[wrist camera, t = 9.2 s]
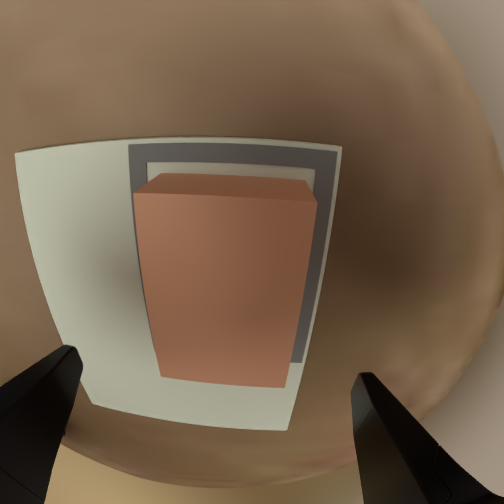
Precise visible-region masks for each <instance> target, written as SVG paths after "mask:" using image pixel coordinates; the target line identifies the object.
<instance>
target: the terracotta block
mask: <svg viewBox="0 0 504 504" xmlns="http://www.w3.org/2000/svg"><path fill="white" fill-rule="evenodd" d="M133 196H134V209H135V220H136V231H137V240H138V249H139V257H140V265H141V273H142V280H143V286H144V293H145V299H146V305H147V311H148V317H149V323H150V328H151V333H152V338H153V343H154V348H155V353H156V358H157V362H158V367H159V371H160V375H161V377H165V378H172V379H179V380H187V381H195V382H204V383H213V384H224V385H235V386H250V387H268V388H285V385H286V380H287V376H288V371H289V366H290V362H291V357H292V352H293V347H294V342H295V337H296V332H297V326H298V321H299V316H300V310H301V305H302V299H303V294H304V288H305V282H306V276H307V270H308V264H309V258H310V251H311V245H312V238H313V231H314V224H315V217H316V210H317V201H316V199H315V197H314V195H313V193H312V191H311V190H310V188H309V186H308V184H307V182H306V180H295V179H283V178H270V177H256V176H239V175H218V174H187V173H160V174H159V175H157V176H156V177H155V178H153V179H152V180H150V181H149V182H148V183H146V184H145V185H144V186H142V187H141V188H140V189H138V190H137V191H135V192H134V193H133Z"/></svg>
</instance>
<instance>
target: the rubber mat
mask: <svg viewBox="0 0 504 504" xmlns="http://www.w3.org/2000/svg"><path fill="white" fill-rule="evenodd" d="M341 155H342V147H341V146H338V145H329V144H321V143H311V142H301V141H289V140H276V139H260V138H239V137H152V138H132V139H117V140H104V141H93V142H83V143H74V144H66V145H58V146H51V147H44V148H38V149H32V150H26V151H20V152H17V153H15V161H16V170H17V178H18V185H19V191H20V197H21V203H22V209H23V214H24V219H25V224H26V228H27V233H28V237H29V241H30V246H31V249H32V253H33V257H34V261H35V264H36V268H37V271H38V275H39V278H40V281H41V285H42V288H43V291H44V294H45V297H46V300H47V303H48V305H49V308H50V311H51V314H52V316H53V319H54V322H55V324H56V327H57V329H58V332H59V334H60V337H61V339H62V342H63V344H64V345H65V344H67V345H71V346H75V347H76V348H77V350H78V353H79V355H80V357H81V360H82V362H83V372H82V375H81V379H80V381H81V383H82V385H83V387H84V389H85V391H86V393H87V394H88V396H89V398H90V400H91V402H92V404H95V405H99V406H102V407H106V408H110V409H114V410H119V411H123V412H127V413H132V414H137V415H142V416H147V417H152V418H157V419H163V420H169V421H175V422H182V423H189V424H197V425H205V426H215V427H225V428H238V429H256V430H287V428H288V425H289V421H290V418H291V414H292V410H293V407H294V403H295V399H296V396H297V392H298V388H299V384H300V380H301V376H302V372H303V368H304V364H305V360H306V356H307V351H308V347H309V343H310V338H311V334H312V329H313V325H314V320H315V315H316V311H317V306H318V301H319V296H320V291H321V286H322V280H323V275H324V270H325V264H326V259H327V253H328V247H329V241H330V235H331V229H332V222H333V216H334V209H335V202H336V195H337V188H338V180H339V172H340V164H341ZM160 173H187V174H218V175H239V176H256V177H270V178H283V179H295V180H306V182H307V184H308V186H309V188H310V190H311V191H312V193H313V195H314V197H315V199H316V201H317V210H316V217H315V224H314V231H313V238H312V245H311V251H310V258H309V264H308V270H307V276H306V282H305V288H304V294H303V299H302V305H301V310H300V316H299V321H298V326H297V332H296V337H295V342H294V347H293V352H292V357H291V362H290V366H289V371H288V376H287V380H286V385H285V388H268V387H250V386H235V385H224V384H213V383H204V382H195V381H187V380H179V379H172V378H165V377H161V375H160V371H159V367H158V362H157V358H156V353H155V348H154V343H153V338H152V333H151V328H150V323H149V317H148V311H147V305H146V299H145V293H144V286H143V280H142V273H141V265H140V257H139V249H138V240H137V231H136V220H135V209H134V196H133V193H134V192H135V191H137V190H138V189H140V188H141V187H142V186H144V185H145V184H146V183H148V182H149V181H150V180H152V179H153V178H155V177H156V176H157V175H159V174H160Z"/></svg>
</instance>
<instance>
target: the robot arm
mask: <svg viewBox="0 0 504 504" xmlns="http://www.w3.org/2000/svg"><path fill="white" fill-rule="evenodd" d="M82 372H83V362H82V360H81V357H80V355H79V353H78V350H77V348H76V347H75V346H71V345H67V344H65V345H63V346H61V347H60V348H58V349H57V350H55V351H53V352H52V353H50V354H49V355H47V356H46V357H44V358H43V359H41V360H40V361H38V362H37V363H35V364H34V365H32V366H31V367H29V368H28V369H26V370H25V371H23V372H22V373H20V374H19V375H17V376H16V377H14V378H13V379H11V380H10V381H8V382H7V383H5V384H4V385H2V386H1V387H0V504H44V501H45V498H46V493H47V489H48V485H49V481H50V476H51V473H52V468H53V465H54V462H55V458H56V455H57V452H58V449H59V446H60V443H61V440H62V437H63V436H64V435H65V432H64V431H65V428H66V425H67V422H68V419H69V416H70V414H71V411H72V408H73V405H74V401H75V397H76V394H77V390H78V386H79V382H80V379H81V375H82ZM351 403H352V418H353V435H354V443H355V449H356V454H357V460H358V466H359V473H360V479H361V486H362V493H363V500H364V504H504V497H501V496H498V495H496V494H494V493H492V492H491V491H489V490H488V489H487V488H485V487H484V486H483V485H482V484H481V483H479V482H478V481H477V480H476V479H475V478H474V477H472V476H471V475H470V474H469V473H468V472H466V471H465V470H464V469H463V468H462V467H461V466H460V465H459V464H458V463H456V462H455V461H454V459H453V458H452V457H450V455H448V453H447V452H446V451H445V450H444V449H443V448H442V447H441V446H439V444H438V443H437V442H436V441H435V439H434V438H432V436H431V435H430V434H429V433H428V432H427V431H426V430H425V429H424V428H423V427H422V425H421V424H420V423H419V422H418V421H417V420H416V419H415V418H414V417H413V416H412V415H411V414H410V412H409V411H408V410H407V409H406V408H405V407H404V406H403V405H402V404H401V403H400V402H399V401H398V400H397V398H396V397H395V396H394V395H393V394H392V393H391V392H390V391H389V390H388V389H387V388H386V387H385V386H384V384H383V383H382V382H381V381H380V380H379V379H378V378H377V377H376V376H375V375H374V374H373V373H371V372H362V373H359V374H358V376H357V378H356V380H355V383H354V385H353V387H352V390H351Z"/></svg>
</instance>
